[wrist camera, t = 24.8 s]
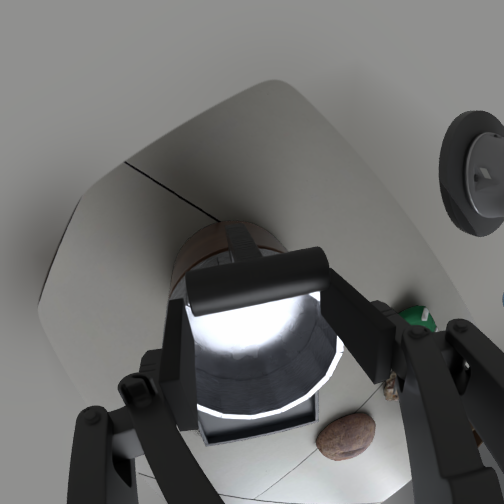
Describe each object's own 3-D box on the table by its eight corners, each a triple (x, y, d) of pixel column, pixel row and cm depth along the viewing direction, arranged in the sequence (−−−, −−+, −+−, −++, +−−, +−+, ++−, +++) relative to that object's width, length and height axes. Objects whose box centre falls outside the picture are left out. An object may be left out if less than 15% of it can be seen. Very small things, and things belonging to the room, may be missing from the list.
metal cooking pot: (321, 361, 32) (372, 453, 20) (187, 390, 30) (194, 496, 18) (314, 189, 25) (410, 238, 13) (135, 221, 23) (87, 301, 12)
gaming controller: (410, 335, 49) (441, 329, 45) (408, 353, 47) (439, 348, 43) (390, 305, 46) (424, 297, 42) (387, 324, 44) (422, 317, 40)
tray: (315, 414, 48) (318, 421, 46) (205, 438, 46) (205, 446, 44) (312, 335, 43) (317, 342, 41) (176, 363, 41) (176, 371, 39)
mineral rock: (397, 410, 50) (388, 403, 45) (385, 395, 53) (374, 387, 49) (438, 370, 49) (433, 359, 44) (424, 357, 53) (417, 344, 48)
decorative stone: (312, 426, 49) (321, 448, 44) (372, 402, 50) (385, 421, 45) (318, 457, 53) (326, 476, 48) (371, 436, 54) (381, 453, 49)
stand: (294, 317, 41) (320, 360, 32) (187, 339, 40) (187, 389, 30) (283, 210, 37) (313, 230, 27) (160, 233, 35) (148, 261, 26)
